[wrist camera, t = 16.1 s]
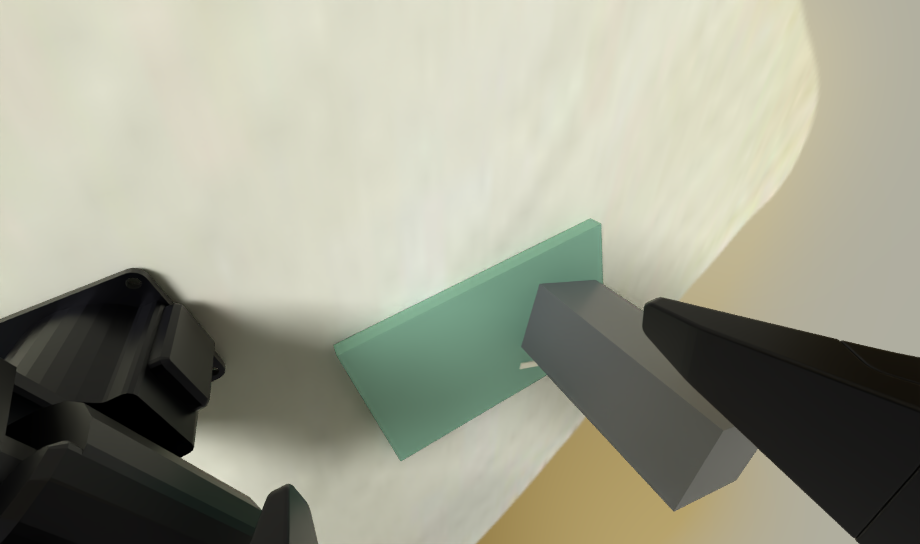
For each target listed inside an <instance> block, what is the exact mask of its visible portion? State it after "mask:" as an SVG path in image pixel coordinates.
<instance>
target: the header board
mask: <svg viewBox="0 0 920 544" xmlns="http://www.w3.org/2000/svg"><path fill="white" fill-rule="evenodd" d="M586 280H597V281H598V282H600V283H601V284H603V273H602V235H601V223H599V222H597V221H595V220H593V219H591V218H590V219H588V220H586V221H584V222H582V223H580V224H578V225H576V226H574V227H572V228H570V229H568V230H566V231H564V232H562V233H560V234H558V235H556V236H554V237H552V238H550V239H548V240H546V241H544V242H542V243H540V244H538V245H536V246H534V247H532V248H530V249H528V250H525V251H523V252H521V253H519V254H517V255H515V256H513V257H511V258H509V259H507V260H505V261H503V262H501V263H499V264H497V265H495V266H493V267H491V268H489V269H487V270H485V271H483V272H481V273H479V274H477V275H475V276H473V277H471V278H469V279H467V280H465V281H463V282H461V283H458V284H456V285H454V286H452V287H450V288H448V289H446V290H444V291H442V292H440V293H438V294H436V295H434V296H432V297H430V298H428V299H426V300H424V301H422V302H420V303H418V304H416V305H414V306H412V307H410V308H408V309H406V310H404V311H402V312H400V313H398V314H396V315H394V316H392V317H389V318H387V319H385V320H383V321H381V322H379V323H377V324H375V325H373V326H371V327H369V328H367V329H365V330H363V331H361V332H359V333H357V334H355V335H353V336H351V337H349V338H347V339H345V340H343V341H341V342H339V343H337V344H335V345H334V348H335V352H336V355H337V357H338V359H339V360H340V362H341V364H342V365H343V367H344V369H345V370H346V372H347V374H348V375H349V377H350V379H351V380H352V382H353V384H354V385H355V387H356V389H357V390H358V392H359V394H360V395H361V397H362V398H363V400H364V402H365V403H366V405H367V407H368V408H369V410H370V412H371V413H372V415H373V417H374V418H375V420H376V422H377V423H378V425H379V427H380V428H381V430H382V431H383V433H384V435H385V436H386V438H387V440H388V441H389V443H390V445H391V446H392V448H393V450H394V451H395V453H396V455H397V456H398V458H399V460H400V461H402V460H404V459H406V458H407V457H409V456H411V455H412V454H414V453H416V452H418V451H419V450H421V449H423V448H424V447H426V446H428V445H429V444H431V443H433V442H434V441H436V440H438V439H440V438H441V437H443V436H445V435H446V434H448V433H450V432H451V431H453V430H455V429H456V428H458V427H460V426H462V425H463V424H465V423H467V422H468V421H470V420H472V419H473V418H475V417H477V416H478V415H480V414H482V413H484V412H485V411H487V410H489V409H490V408H492V407H494V406H495V405H497V404H499V403H500V402H502V401H504V400H506V399H507V398H509V397H511V396H512V395H514V394H516V393H517V392H519V391H521V390H522V389H524V388H526V387H528V386H529V385H531V384H533V383H534V382H536V381H538V380H539V379H541V378H543V377H544V376H546V375H547V374H546V373H545V372H544V371H543V370H542V369H541V368H540V367H539V366H538V365H537V364H536V362H535V361H534V360H533V359H532V358H531V357H530V356H529V355H528V354H527V353H526V352H525V351H524V350H523V348H522V347H521V345H522V342H523V339H524V335H525V332H526V328H527V325H528V321H529V318H530V315H531V311H532V308H533V304H534V301H535V297H536V294H537V290H538V287H539V284H542V283H557V282H571V281H586Z"/></svg>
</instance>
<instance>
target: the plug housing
mask: <svg viewBox="0 0 920 544" xmlns="http://www.w3.org/2000/svg"><path fill="white" fill-rule="evenodd" d="M643 312H644V311H642V310H641V309H639V308H638V307H636V306H635V305H633V304H632V303H630V302H629V301H627V300H626V299H624V298H623V297H621V296H620V295H618V294H617V293H615V292H614V291H612V290H610V289H609V288H607V287H606V286H604V285H603V284H601V283H600V282H598V281H597V280H586V281H571V282H557V283H542V284H539V287H538V290H537V294H536V297H535V301H534V304H533V308H532V311H531V315H530V318H529V321H528V325H527V328H526V332H525V335H524V339H523V342H522V345H521V347H522V348H523V350H524V351H525V352H526V353H527V354H528V355H529V356H530V357H531V358H532V359H533V360H534V361H535V362H536V364H537V365H538V366H539V367H540V368H541V369H542V370H543V371H544V372H545V373H546V374H547V375H548V376H549V378H550V379H551V380H552V381H553V382H554V383H555V384H556V385H557V386H558V387H559V388H560V389H561V390H562V392H563V393H564V394H565V395H566V396H567V397H568V398H569V399H570V400H571V401H572V402H573V403H574V405H575V406H576V407H577V408H578V409H579V410H580V411H581V412H582V413H583V414H584V415H585V416H586V417H587V419H588V420H589V421H590V422H591V423H592V424H593V425H594V426H595V427H596V428H597V429H598V430H599V431H600V433H601V434H602V435H603V436H604V437H605V438H606V439H607V440H608V441H609V442H610V443H611V444H612V445H613V447H614V448H615V449H616V450H617V451H618V452H619V453H620V454H621V455H622V456H623V457H624V458H625V460H626V461H627V462H628V463H629V464H630V465H631V466H632V467H633V468H634V469H635V470H636V471H637V472H638V474H639V475H640V476H641V477H642V478H643V479H644V480H645V481H646V482H647V483H648V484H649V485H650V486H651V487H652V489H653V490H654V491H655V492H656V493H657V494H658V495H659V496H660V497H661V498H662V499H663V500H664V502H665V503H666V504H667V505H668V506H669V507H670V508H671V509H672V510H673V511H676V510H678V509H680V508H682V507H684V506H686V505H688V504H690V503H692V502H694V501H696V500H698V499H700V498H702V497H704V496H705V495H708V494H710V493H712V492H714V491H716V490H718V489H720V488H722V487H724V486H726V485H728V484H730V483H732V482H734V481H735V480H737V478H738V477H739V476H740V474H741V473H742V471H743V470H744V468H745V467H746V465H747V464H748V462H749V461H750V459H751V458H752V456H753V455H754V453H755V452H756V450H757V449H758V448H757V447H756V446H755V445H754V444H753V443H752V442H750V441H749V440H748V439H747V438H746V437H745V436H744V435H743V434H742V433H741V432H740V431H739V430H738V429H737V428H736V427H734V426H733V425H732V424H731V423H730V422H729V421H728V420H727V419H726V418H725V417H724V416H723V415H722V414H721V413H720V412H718V411H717V410H716V409H715V408H714V407H713V406H712V405H711V404H710V403H709V402H708V401H707V400H706V399H705V398H704V397H702V396H701V395H700V394H699V393H698V392H697V391H696V390H695V389H694V388H693V387H692V386H691V385H690V384H689V383H688V382H687V381H686V380H685V379H684V378H683V377H682V376H681V375H680V374H679V373H678V371H677V370H676V369H675V368H674V367H673V366H672V365H671V364H670V362H669V361H668V360H667V359H666V358H665V357H664V356H663V354H662V353H661V352H660V351H659V350H658V349H657V348H656V347H655V345H654V344H653V343H652V342H651V341H650V340H649V339H648V337H647V336H646V335H645V333H644V332H643V329H642V321H643Z"/></svg>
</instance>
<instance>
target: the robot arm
mask: <svg viewBox="0 0 920 544" xmlns="http://www.w3.org/2000/svg"><path fill="white" fill-rule="evenodd" d="M129 278H137V279H139V280H140V281H141V283H140V284H132V283H130V282H129V281H128V279H129ZM642 329H643V332H644V333H645V335H646V336H647V337H648V339H649V340H650V341H651V342H652V343H653V344H654V345H655V347H656V348H657V349H658V350H659V351H660V352H661V353H662V354H663V356H664V357H665V358H666V359H667V360H668V361H669V362H670V364H671V365H672V366H673V367H674V368H675V369H676V370H677V371H678V373H679V374H680V375H681V376H682V377H683V378H684V379H685V380H686V381H687V382H688V383H689V384H690V385H691V386H692V387H693V388H694V389H695V390H696V391H697V392H698V393H699V394H700V395H701V396H702V397H704V398H705V399H706V400H707V401H708V402H709V403H710V404H711V405H712V406H713V407H714V408H715V409H716V410H717V411H718V412H720V413H721V414H722V415H723V416H724V417H725V418H726V419H727V420H728V421H729V422H730V423H731V424H732V425H733V426H734V427H736V428H737V429H738V430H739V431H740V432H741V433H742V434H743V435H744V436H745V437H746V438H747V439H748V440H749V441H750V442H752V443H753V444H754V445H755V446H756V447H757V448H758V449H759V450H760V451H761V452H762V453H763V454H764V455H766V457H768V458H769V459H770V460H771V461H772V462H773V463H774V464H775V465H776V466H777V467H778V468H779V469H780V470H782V471H783V472H784V473H785V474H786V475H787V476H788V477H789V478H790V479H791V480H792V481H793V482H794V483H795V484H796V485H797V486H799V487H800V488H801V489H802V490H803V491H804V492H805V493H806V494H807V495H808V496H809V497H810V498H811V499H812V500H814V501H815V502H816V503H817V504H818V505H819V506H820V507H821V508H822V509H823V510H824V511H825V512H826V513H827V514H828V515H829V516H831V517H832V518H833V519H834V520H835V521H836V522H837V523H838V524H839V525H840V526H841V527H842V528H843V529H844V530H845V531H847V532H848V533H849V534H850V535H851V536H852V537H853V538H855V540H856V541H857V542H858V543H859V544H920V357H915V356H910V355H905V354H900V353H895V352H890V351H886V350H881V349H877V348H873V347H868V346H864V345H860V344H855V343H851V342H847V341H839V340H838V339H834V338H830V337H826V336H822V335H817V334H813V333H809V332H805V331H800V330H796V329H792V328H788V327H784V326H780V325H776V324H771V323H767V322H763V321H759V320H754V319H750V318H746V317H742V316H737V315H733V314H729V313H725V312H721V311H717V310H713V309H709V308H704V307H700V306H696V305H692V304H688V303H683V302H679V301H675V300H671V299H667V298H662V297H659V298H655V299H653V300H651V301H649V302H648V303H646V304H645V306H644V312H643V321H642ZM214 346H215V343H214V341H213V340H212V339H211V337H210V336H209V335H208V334H207V333H206V331H205V330H204V329H203V328H202V327H201V326H200V324H199V323H198V322H197V321H196V320H195V318H194V317H193V316H192V315H191V314H190V313H189V311H188V310H187V309H186V308H185V307H184V305H182V304H178V303H173V302H172V300H171V299H170V298H169V297H168V296H167V295H166V293H165V292H164V291H163V290H162V289H161V288H160V287H159V285H158V284H157V283H156V282H155V281H154V280H153V278H152V277H151V276H150V275H149V274H148V273H147V272H146V271H144V270H142V269H139V268H130V269H126V270H124V271H121V272H119V273H116V274H113V275H111V276H108V277H106V278H103V279H101V280H98V281H96V282H93V283H91V284H88V285H86V286H83V287H80V288H78V289H75V290H73V291H70V292H68V293H65V294H63V295H60V296H58V297H55V298H52V299H50V300H47V301H45V302H42V303H40V304H37V305H35V306H32V307H30V308H27V309H25V310H22V311H19V312H17V313H14V314H12V315H9V316H7V317H4V318H2V319H0V544H318V541H317V537H316V533H315V528H314V524H313V519H312V515H311V511H310V508H309V506H308V504H307V502H306V501H305V500H304V498H303V497H302V496H301V495H300V494H299V492H298V491H297V490H296V489H295V488H294V486H293V485H291V484H286V485H284V486H282V487H280V488H278V489H276V490H274V491H272V492H271V493H270V494H269V495H268V497H267V499H266V501H265V504H264V506H263V509H262V510H261V509H260V508H259V507H258V506H257V504H256V503H255V502H254V501H253V500H252V499H251V498H250V497H248V496H247V495H245V494H243V493H241V492H240V491H238V490H236V489H234V488H233V487H231V486H229V485H227V484H226V483H224V482H222V481H220V480H218V479H217V478H215V477H213V476H211V475H210V474H208V473H206V472H204V471H203V470H201V469H199V468H197V467H196V466H194V465H192V464H190V463H189V462H187V461H185V460H183V459H182V458H181V457H183V456H185V455H187V454H189V453H190V452H191V451H193V448H194V442H195V434H196V426H197V417H198V410H200V409H202V408H204V407H206V406H207V404H208V402H209V399H210V390H211V382H212V381H214V380H216V379H218V378H220V377H221V376H223V374H224V373H225V363H224V361H223V360H222V359H221V357H220V356H219V355H218V354H217V353H216V352H215V350H214ZM213 367H216V368H218V369H217V370H214V371H213V370H212V368H213Z"/></svg>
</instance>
